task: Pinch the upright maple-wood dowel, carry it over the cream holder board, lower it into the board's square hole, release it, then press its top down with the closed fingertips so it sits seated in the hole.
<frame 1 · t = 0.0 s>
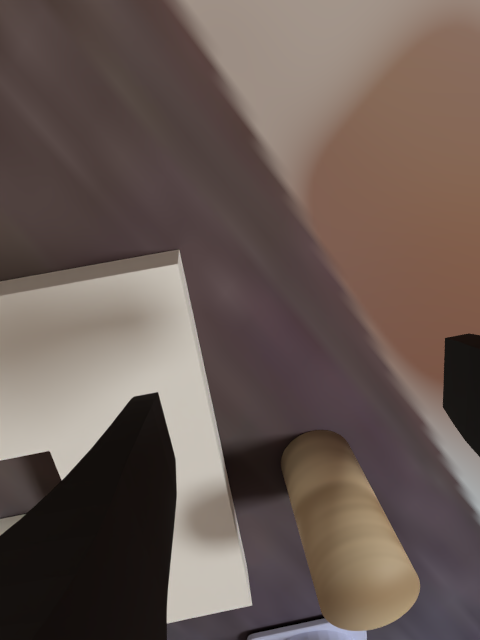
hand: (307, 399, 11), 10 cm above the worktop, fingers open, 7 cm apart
holder board: (28, 471, 23), on the worktop
maple dowel: (316, 459, 25), on the worktop
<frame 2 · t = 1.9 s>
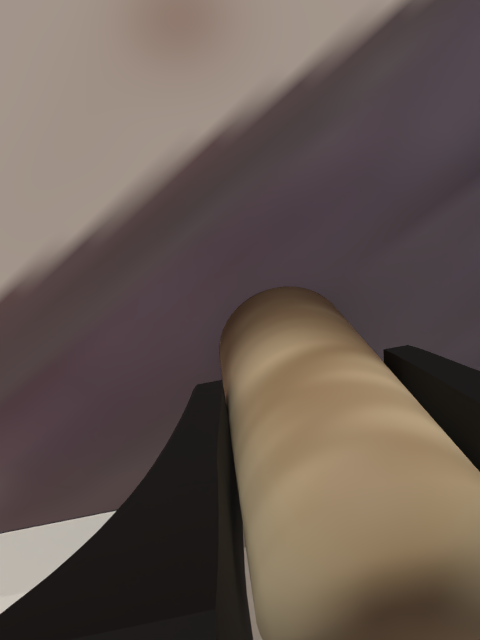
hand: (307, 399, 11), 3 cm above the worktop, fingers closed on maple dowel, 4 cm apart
maple dowel: (283, 348, 14), on the worktop, touching gripper
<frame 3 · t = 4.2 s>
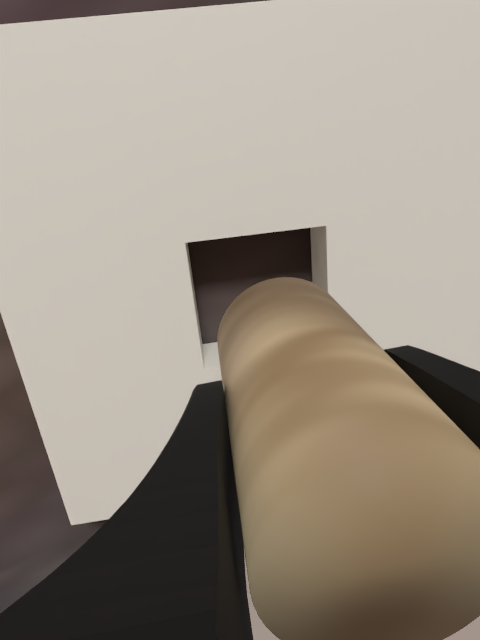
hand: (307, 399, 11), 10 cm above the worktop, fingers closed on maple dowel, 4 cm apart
holder board: (253, 282, 20), on the worktop
maple dowel: (281, 339, 14), point 7 cm above the worktop, touching gripper
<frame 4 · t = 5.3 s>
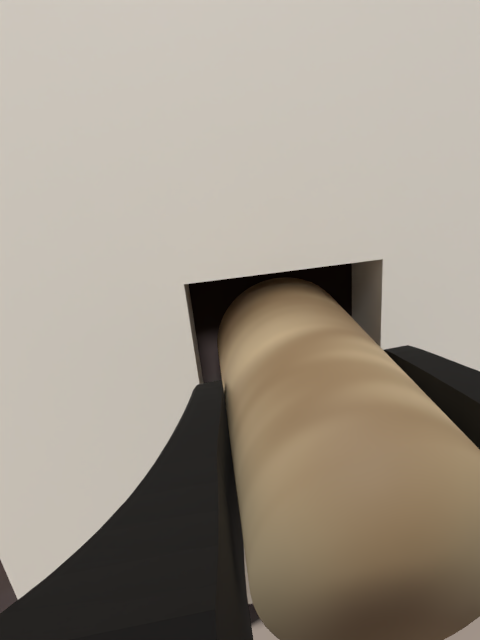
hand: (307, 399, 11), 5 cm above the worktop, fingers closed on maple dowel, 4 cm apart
holder board: (275, 327, 15), on the worktop
maple dowel: (281, 339, 14), point 2 cm above the worktop, touching gripper
when the fingers open (3 cm above the worktop, at t = 6.5 s): maple dowel stays where it is, resting in holder board.
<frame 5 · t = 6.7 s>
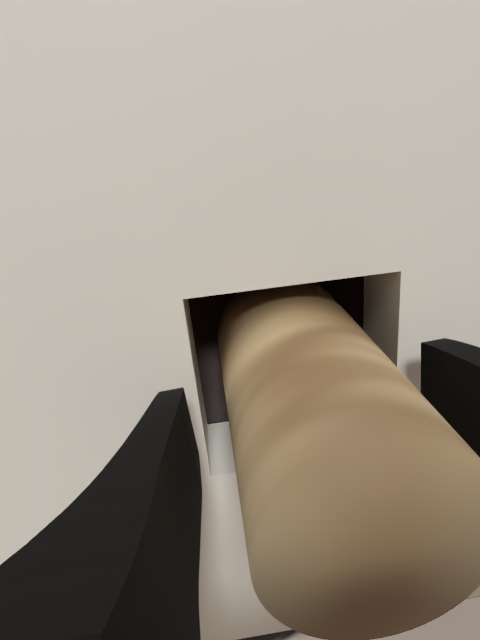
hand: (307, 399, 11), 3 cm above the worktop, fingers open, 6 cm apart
holder board: (280, 341, 14), on the worktop
maple dowel: (280, 334, 14), resting in holder board
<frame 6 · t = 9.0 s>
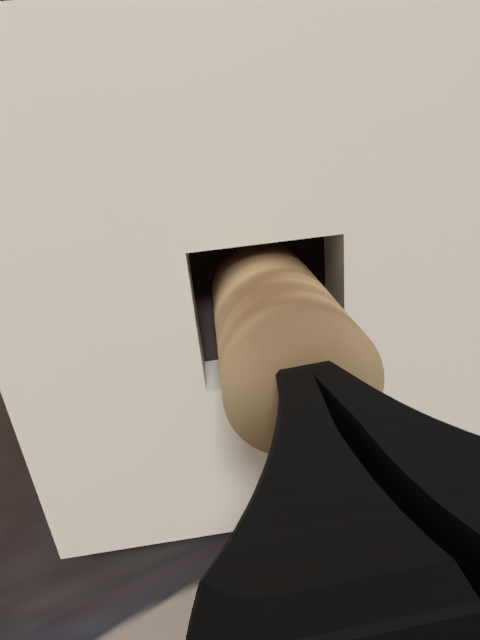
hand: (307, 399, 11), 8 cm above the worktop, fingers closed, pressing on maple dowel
holder board: (261, 295, 18), on the worktop
maple dowel: (260, 289, 18), resting in holder board, touching gripper
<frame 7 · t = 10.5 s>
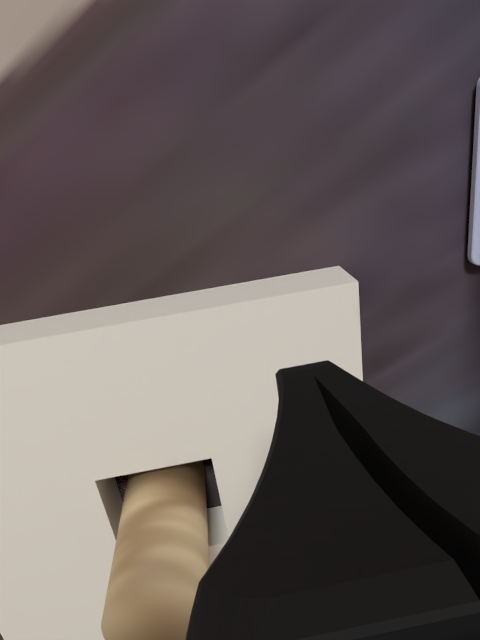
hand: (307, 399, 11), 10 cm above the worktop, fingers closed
holder board: (168, 476, 24), on the worktop
maple dowel: (167, 472, 23), resting in holder board
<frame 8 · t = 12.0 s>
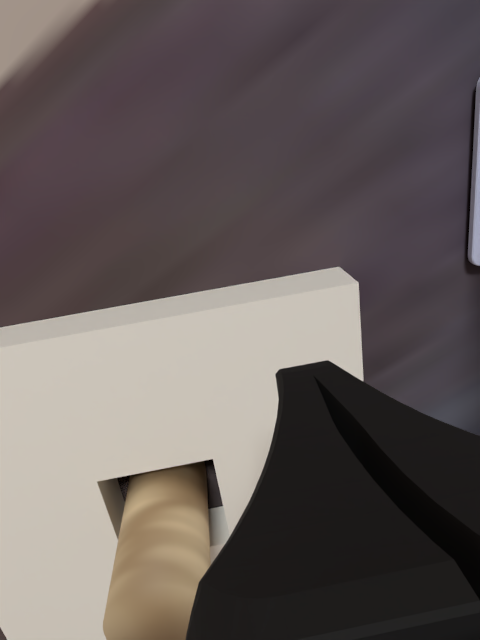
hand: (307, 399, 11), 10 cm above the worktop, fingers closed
holder board: (169, 477, 24), on the worktop
maple dowel: (168, 473, 24), resting in holder board
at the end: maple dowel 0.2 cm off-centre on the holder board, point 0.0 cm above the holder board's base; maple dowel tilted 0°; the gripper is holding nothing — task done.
